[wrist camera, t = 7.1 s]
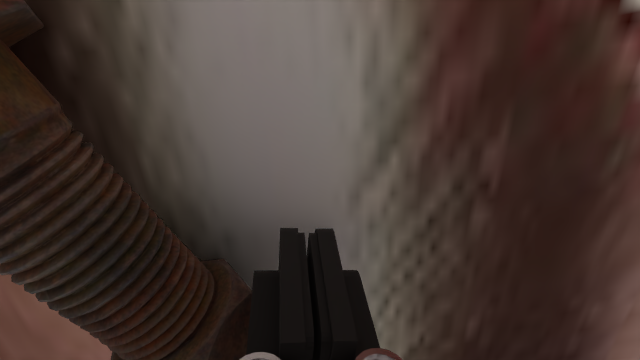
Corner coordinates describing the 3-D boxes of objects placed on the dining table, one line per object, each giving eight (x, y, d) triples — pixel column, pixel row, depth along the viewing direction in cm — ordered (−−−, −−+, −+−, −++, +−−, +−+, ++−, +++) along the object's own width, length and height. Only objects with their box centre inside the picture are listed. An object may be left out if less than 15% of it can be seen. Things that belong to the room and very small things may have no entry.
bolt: (250, 316, 17) (-41, 1, 9) (341, 331, 14) (32, -103, 6) (173, 460, 13) (-465, 114, 5) (278, 519, 10) (-760, -35, 2)
